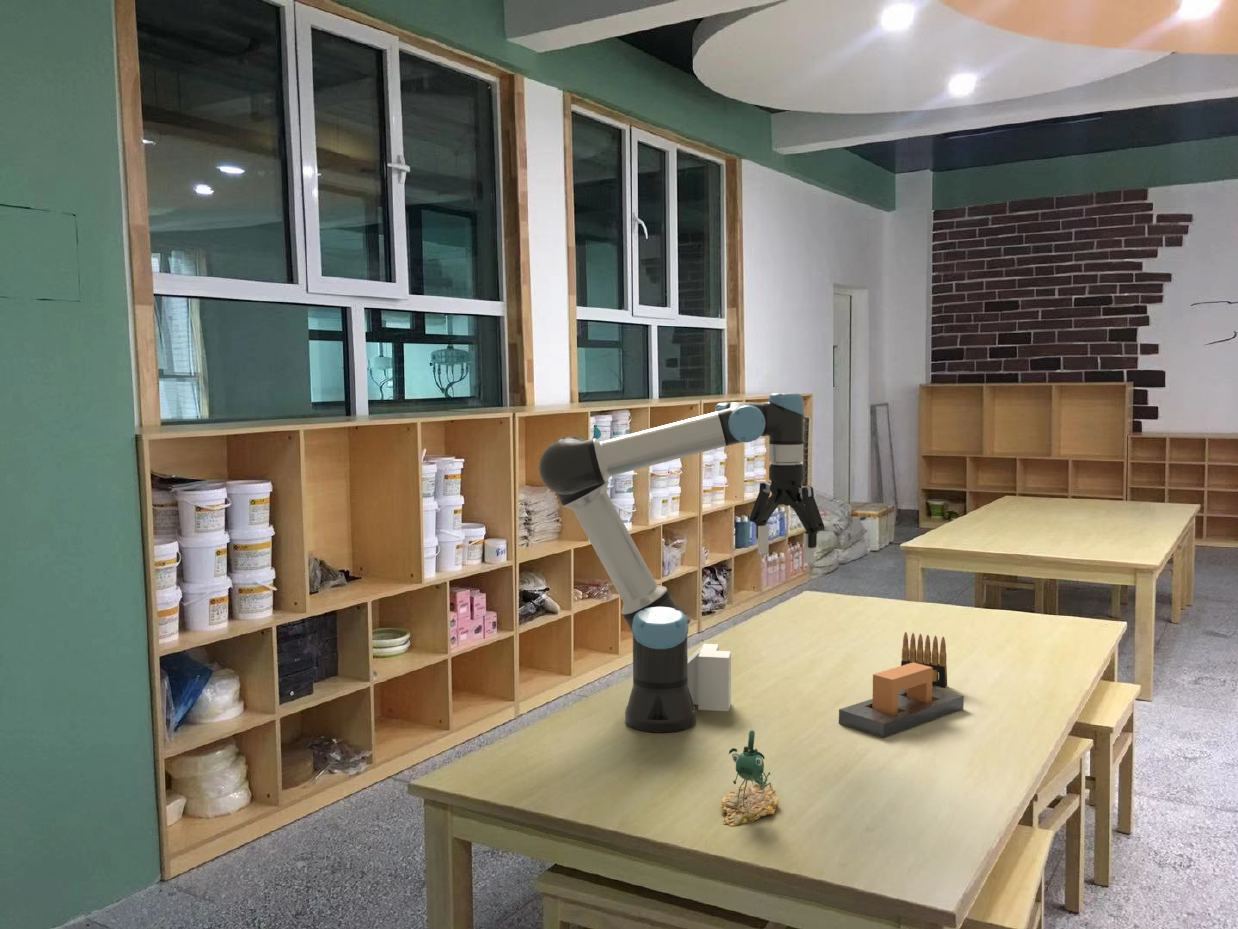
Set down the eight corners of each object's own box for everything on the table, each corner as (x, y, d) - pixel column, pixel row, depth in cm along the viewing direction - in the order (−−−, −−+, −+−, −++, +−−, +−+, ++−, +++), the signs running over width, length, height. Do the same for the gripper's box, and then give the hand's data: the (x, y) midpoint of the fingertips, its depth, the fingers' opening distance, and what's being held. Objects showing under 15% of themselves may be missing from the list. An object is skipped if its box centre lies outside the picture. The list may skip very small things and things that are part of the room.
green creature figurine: (800, 795, 184) (798, 717, 181) (754, 845, 170) (750, 761, 167) (752, 783, 190) (749, 707, 187) (702, 830, 175) (698, 748, 172)
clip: (891, 726, 219) (892, 679, 218) (872, 720, 223) (872, 674, 222) (931, 712, 227) (932, 667, 226) (912, 706, 231) (913, 662, 230)
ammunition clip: (899, 681, 250) (900, 632, 248) (902, 679, 251) (902, 630, 250) (945, 688, 244) (946, 638, 243) (947, 686, 246) (948, 636, 245)
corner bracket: (728, 711, 229) (728, 657, 228) (677, 708, 231) (677, 655, 230) (733, 696, 239) (733, 645, 238) (684, 693, 242) (683, 642, 241)
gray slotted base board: (883, 738, 212) (883, 723, 211) (838, 723, 221) (839, 709, 220) (963, 709, 229) (963, 695, 229) (919, 696, 238) (919, 683, 238)
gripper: (841, 465, 223) (840, 563, 225) (757, 458, 242) (756, 548, 244) (818, 468, 218) (817, 568, 220) (734, 460, 238) (733, 552, 240)
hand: (785, 558), depth 232 cm, fingers open, 13 cm apart
